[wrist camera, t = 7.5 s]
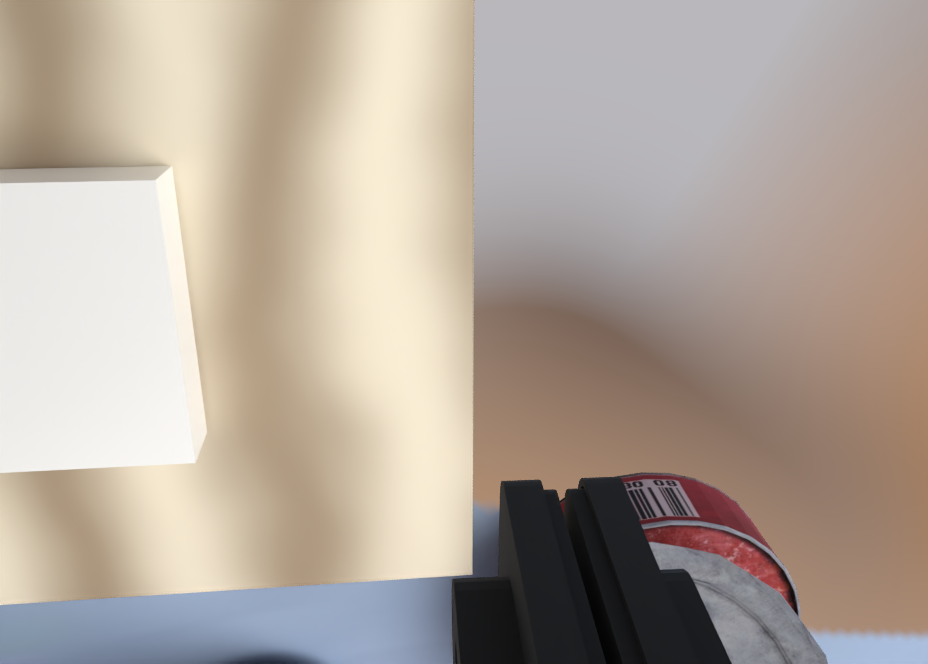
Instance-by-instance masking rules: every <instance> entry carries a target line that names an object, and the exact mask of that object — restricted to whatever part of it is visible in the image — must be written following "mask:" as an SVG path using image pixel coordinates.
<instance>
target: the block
mask: <svg viewBox="0 0 928 664" xmlns="http://www.w3.org/2000/svg"><path fill="white" fill-rule="evenodd" d="M206 434H207V427H206V420H205V412H204V404H203V397H202V389H201V382H200V374H199V367H198V359H197V352H196V344H195V337H194V329H193V321H192V314H191V306H190V299H189V291H188V284H187V276H186V269H185V261H184V253H183V246H182V238H181V231H180V223H179V216H178V208H177V201H176V193H175V186H174V178H173V170H172V166H137V167H87V168H36V169H0V473H10V472H30V471H49V470H69V469H89V468H109V467H128V466H148V465H168V464H187V463H196V460H197V457H198V455H199V452H200V450H201V447H202V444H203V442H204V439H205V436H206Z"/></svg>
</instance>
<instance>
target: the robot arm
mask: <svg viewBox="0 0 928 664" xmlns="http://www.w3.org/2000/svg"><path fill="white" fill-rule="evenodd" d="M452 639H453V664H732V663H731V661H730V659H729V656H728V654H727V652H726V650H725V648H724V646H723V644H722V641H721V639H720V637H719V635H718V633H717V631H716V628H715V626H714V624H713V622H712V620H711V618H710V615H709V613H708V611H707V609H706V607H705V605H704V603H703V600H702V598H701V596H700V594H699V592H698V590H697V587H696V585H695V583H694V581H693V579H692V578H691V576H690V574H689V573H688V572H687V571H686V570H685V569H664V570H660V569H659V566H658V564H657V561H656V559H655V557H654V554H653V552H652V549H651V547H650V545H649V542H648V540H647V538H646V535H645V533H644V530H643V528H642V526H641V523H640V521H639V518H638V516H637V514H636V511H635V509H634V506H633V504H632V502H631V499H630V497H629V494H628V492H627V490H626V487H625V485H624V482H623V481H622V479H621V478H620V477H600V478H581V479H580V481H579V485H578V489H567V490H566V493H565V503H564V515H563V511H562V508H561V504H560V501H559V497H558V494H557V491H556V490H544V489H543V486H542V483H541V481H540V480H518V481H502V482H501V487H500V519H499V562H498V577H483V578H460V579H453V580H452Z"/></svg>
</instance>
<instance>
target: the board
mask: <svg viewBox="0 0 928 664" xmlns="http://www.w3.org/2000/svg"><path fill="white" fill-rule="evenodd" d="M137 166H172V170H173V178H174V186H175V193H176V201H177V208H178V216H179V223H180V231H181V238H182V246H183V253H184V261H185V269H186V276H187V284H188V291H189V299H190V306H191V314H192V321H193V329H194V337H195V344H196V352H197V359H198V367H199V374H200V382H201V389H202V397H203V404H204V412H205V420H206V427H207V434H206V436H205V439H204V442H203V444H202V447H201V450H200V452H199V455H198V457H197V460H196V463H187V464H168V465H148V466H128V467H109V468H89V469H69V470H49V471H30V472H10V473H0V605H6V604H22V603H38V602H53V601H69V600H84V599H100V598H116V597H131V596H147V595H162V594H178V593H193V592H209V591H225V590H240V589H256V588H271V587H287V586H303V585H318V584H334V583H349V582H365V581H381V580H396V579H412V578H427V577H443V576H458V575H472V552H473V244H474V236H473V234H474V226H473V225H474V217H473V216H474V0H0V169H36V168H87V167H137Z"/></svg>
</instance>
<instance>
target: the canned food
mask: <svg viewBox="0 0 928 664" xmlns="http://www.w3.org/2000/svg"><path fill="white" fill-rule="evenodd" d="M616 477H620V478H621V479H622V481H623V482H624V485H625V487H626V490H627V492H628V494H629V497H630V499H631V502H632V504H633V506H634V509H635V511H636V514H637V516H638V518H639V521H640V523H641V526H642V528H643V530H644V533H645V535H646V538H647V540H648V542H649V545H650V547H651V549H652V552H653V554H654V557H655V559H656V561H657V564H658V566H659V569H660V570H664V569H685V570H686V571H687V572H688V573H689V574H690V576H691V578H692V579H693V581H694V583H695V585H696V587H697V590H698V592H699V594H700V596H701V598H702V600H703V603H704V605H705V607H706V609H707V611H708V613H709V615H710V618H711V620H712V622H713V624H714V626H715V628H716V631H717V633H718V635H719V637H720V639H721V641H722V644H723V646H724V648H725V650H726V652H727V654H728V656H729V659H730V661H731V663H732V664H828V663H827V659H826V655H825V654H824V652H823V651H822V650H821V648H820V647H819V645H818V644H817V642H816V641H815V640H814V638H813V637H812V635H811V634H810V632H809V631H808V630H807V628H806V627H805V625H804V624H803V623H802V621H801V620H800V615H801V610H800V605H799V599H798V594H797V589H796V587H795V585H794V583H793V581H792V579H791V577H790V575H789V573H788V570H787V569H786V567H785V566H784V565H783V564H782V563H781V561H780V560H779V559H778V558H777V556H776V555H775V554H774V552H773V551H772V549H771V548H770V546H769V545H768V544H767V542H766V541H765V539H764V538H763V537H762V535H761V534H760V532H759V531H758V530H757V528H756V527H755V525H754V524H753V522H752V520H751V518H750V517H749V516H748V514H747V513H746V512H745V511H744V510H743V509H742V508H741V507H740V505H739V504H738V503H737V502H736V501H735V500H734V499H732V498H731V497H729V496H728V495H727V494H725V493H724V492H722V491H721V490H719V489H718V488H716V487H714V486H711V485H709V484H707V483H704V482H702V481H700V480H697V479H695V478H691V477H686V476H681V475H676V474H671V473H646V472H644V473H643V472H641V473H635V474H629V475H622V476H616ZM564 503H565V498H563V499H562V500H560V504H561V508H562V511H563V515H564Z"/></svg>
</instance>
